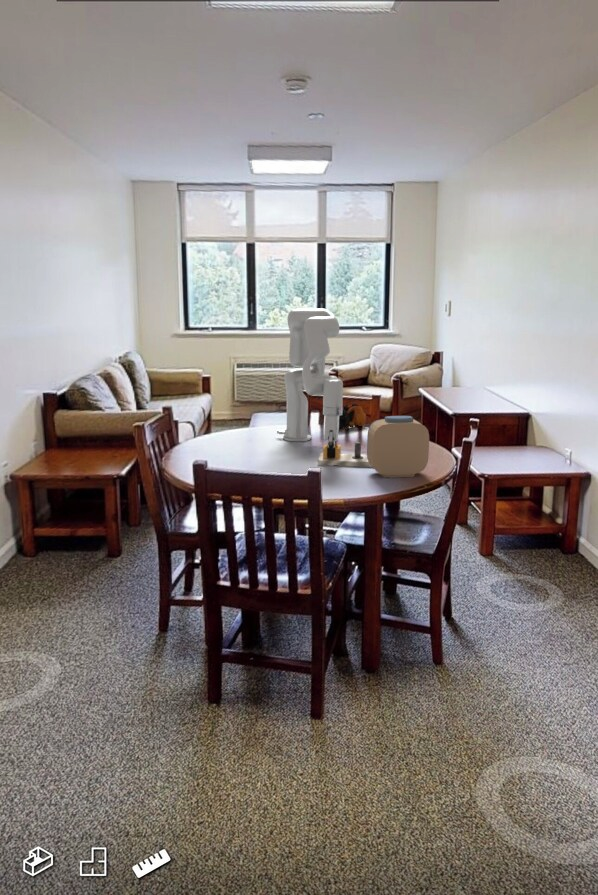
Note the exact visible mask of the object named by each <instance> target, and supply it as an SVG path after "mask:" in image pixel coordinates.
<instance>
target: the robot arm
mask: <svg viewBox="0 0 598 895" xmlns="http://www.w3.org/2000/svg"><path fill="white" fill-rule="evenodd" d="M287 326H288V330H289V335H290V337H289V338H290V340H289V351H288V352H289V353H288V354H289V356H288V358H289V359H288V360H289V363H290V366H293V367H298V368H293V369H289V370H287V371H286V372H285V373H284V377H283V378H284V380H283V381H284V386H285V396H286V428H284V429H276V430H277V431H276V434H279V435H283V440H284V441H287V442H296V443H297V442H300V443H301V442H307V441H310V440H312V435H310V434H308V433H309V432H308V431H309V430H308V428H309V426H308V424H309V422H308V421H309V415H308V414H309V413H308V412H309V401H308V397H307V396H306V394H307V395H308V396H322V415H323V416H324V436H323V440H324V441H327V444H328V448H327V458H335V445H338V443H337V440H338V438H339V431H340V430H339V416H341V415H342V409H343V399H344V398H343V397H344V396H343V394H344V393H343V392H344V382H343V380H342V379H340V378H338V377H337V376H336V375H325V369H326V357H328V355H329V354H330V352H331V349H330V348H331V347H330V344H329V341H328V338H336V337H338V336H339V333H340V324H339V321H338V319H337V317H336V316H335V315H334V314H333V313H332V312H331V311H330V310H328V309H326V308H296V309H295V308H294V309H292V310H290V311H289V312H288V315H287ZM301 367H302V368H301ZM311 367H312V368H311ZM303 391H305V392H306V394H304V392H303Z"/></svg>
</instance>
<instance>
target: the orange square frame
mask: <svg viewBox="0 0 598 895" xmlns="http://www.w3.org/2000/svg"><path fill="white" fill-rule="evenodd" d="M341 447H342V444H337V445H335V458H333V459H340V455H341V454H342V453H341V450H342V448H341ZM327 448H328V443H327V444H324V445H323V447H322V453H323V458H327Z"/></svg>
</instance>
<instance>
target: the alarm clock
mask: <svg viewBox="0 0 598 895" xmlns="http://www.w3.org/2000/svg"><path fill="white" fill-rule="evenodd" d="M366 437H367V440H366V442H367V443H366V446H367V448H366V454H367V459H368V462H369V463H370V465H371V466H372V467H371V468H373V469H374V470H375V471H376V473H378V474H380V475H381V476H382V478H384V477H390V478H411V477H415V476H416V474H419V473H421V472H423V471H424V470H425V469H426V468H427V465H428V463H429V456H430V455H429V453H430V434H429V429H428V428H427V427H426V425H424V424H422V423H420V422H419V421H417V420H416V419H414V417H413V416H411V415H390V416H389V415H388V416H385V417H384V418H381V419H378V420H376V419H375V420H374V421H373V422H371V424H370V425H369V427H368V429H367V436H366Z"/></svg>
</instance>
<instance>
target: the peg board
mask: <svg viewBox="0 0 598 895" xmlns="http://www.w3.org/2000/svg"><path fill="white" fill-rule="evenodd" d="M361 451H362V442H360V441H356V442H354V453H341V455H340V459H333V458H323V452H320V454H319V457H318V459H317V465H318V464H319V465H318V466H325V465H339V466H338V467H353V466H357V467H358V466H360V467H358V468H373V467H372V466H371V465H370V463H369V462H368V459H367V453H364V454H363V453H362V452H361Z"/></svg>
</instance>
